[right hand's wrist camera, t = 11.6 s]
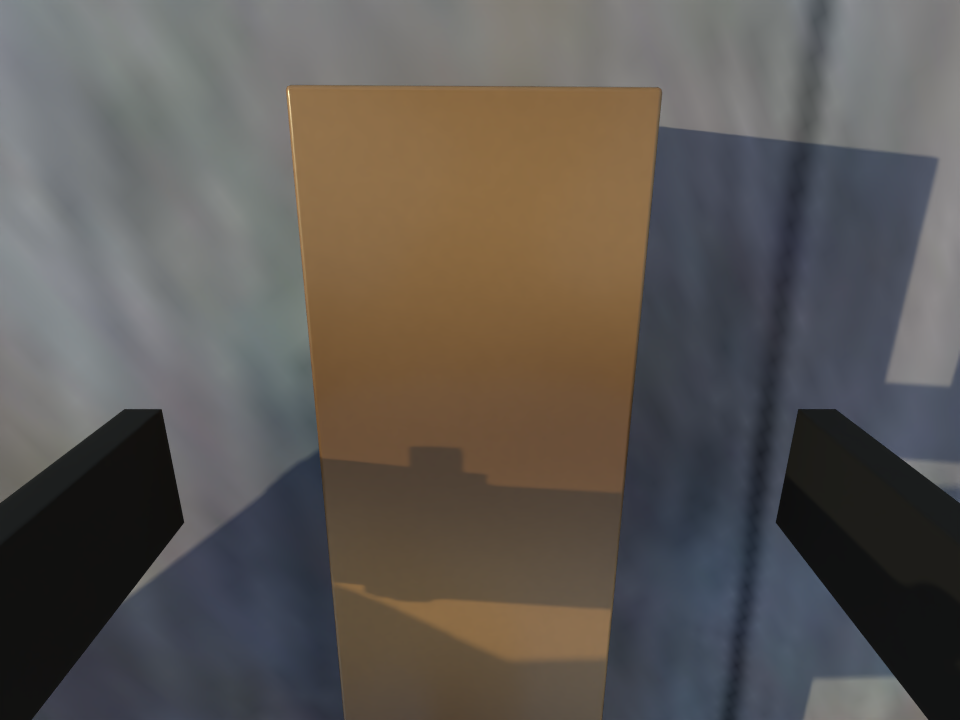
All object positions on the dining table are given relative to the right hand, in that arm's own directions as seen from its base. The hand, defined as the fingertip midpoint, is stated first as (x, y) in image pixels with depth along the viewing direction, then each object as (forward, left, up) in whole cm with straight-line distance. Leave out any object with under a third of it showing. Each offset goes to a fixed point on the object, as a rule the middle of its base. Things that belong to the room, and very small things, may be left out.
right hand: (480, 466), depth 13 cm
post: (+9, +15, -7) cm, 19 cm away
